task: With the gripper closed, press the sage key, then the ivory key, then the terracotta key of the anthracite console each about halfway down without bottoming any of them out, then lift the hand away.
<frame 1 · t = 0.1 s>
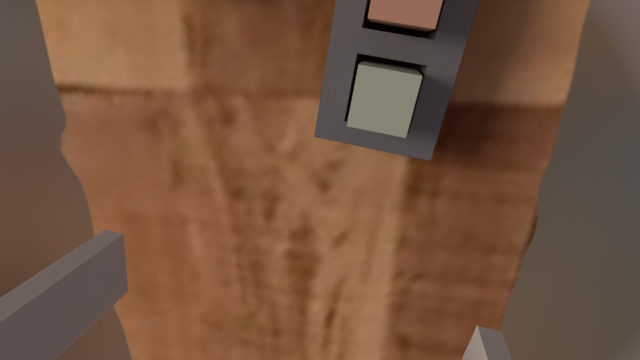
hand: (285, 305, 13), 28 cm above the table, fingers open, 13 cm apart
key sage: (383, 95, 30), point 6 cm above the table, slide at 0.0 cm
console: (404, 1, 32), on the table
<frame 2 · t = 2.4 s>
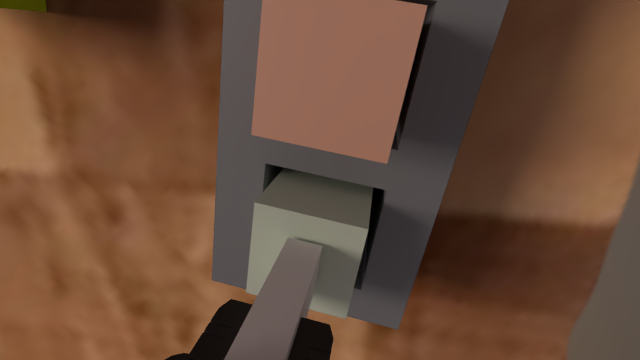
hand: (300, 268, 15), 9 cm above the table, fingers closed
key sage: (318, 222, 18), point 5 cm above the table, slide at -1.1 cm, touching gripper
console: (356, 61, 20), on the table
key terracotta: (343, 69, 14), point 6 cm above the table, slide at 0.0 cm
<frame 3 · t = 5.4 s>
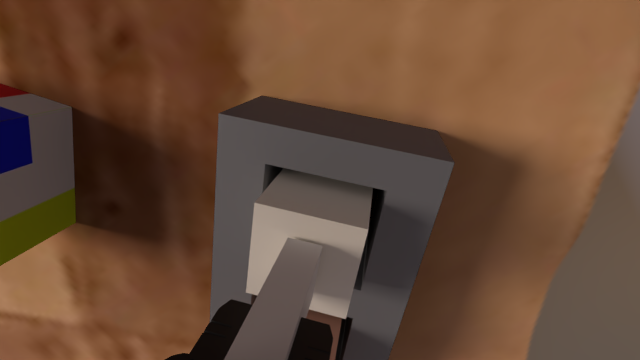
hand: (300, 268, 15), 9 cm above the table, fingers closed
key ivory: (318, 222, 18), point 5 cm above the table, slide at -1.1 cm, touching gripper
console: (314, 280, 26), on the table
key terracotta: (294, 345, 20), point 6 cm above the table, slide at 0.0 cm
puzzle toy: (20, 148, 27), on the table
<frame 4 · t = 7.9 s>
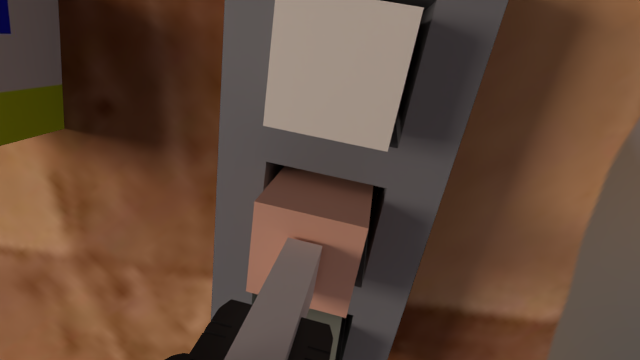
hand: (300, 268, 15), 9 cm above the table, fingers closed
key sage: (299, 328, 22), point 5 cm above the table, slide at -1.1 cm
key ivory: (347, 65, 15), point 5 cm above the table, slide at -1.1 cm
console: (333, 183, 23), on the table
key terracotta: (318, 221, 18), point 5 cm above the table, slide at -1.0 cm
puzzle toy: (0, 40, 24), on the table
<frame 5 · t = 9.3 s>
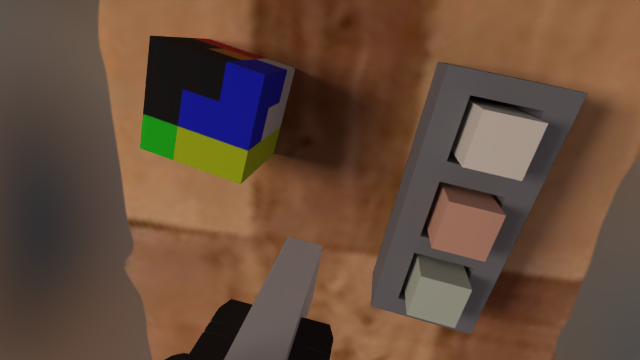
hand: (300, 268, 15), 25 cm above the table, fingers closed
key sage: (433, 278, 36), point 5 cm above the table, slide at -1.1 cm
key ivory: (490, 135, 30), point 5 cm above the table, slide at -1.1 cm
console: (450, 193, 38), on the table
key terracotta: (459, 213, 33), point 5 cm above the table, slide at -1.1 cm
puzzle toy: (243, 98, 39), on the table
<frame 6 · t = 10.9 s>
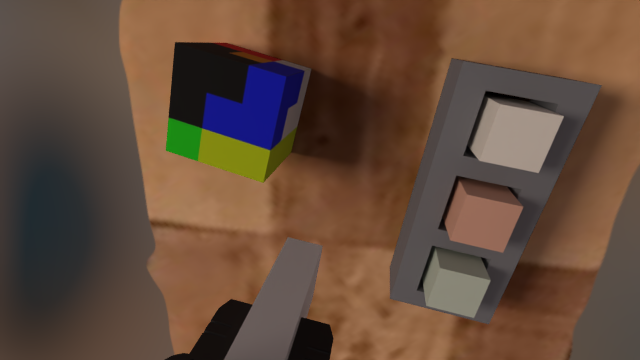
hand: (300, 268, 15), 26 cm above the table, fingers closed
key sage: (451, 270, 37), point 5 cm above the table, slide at -1.1 cm
key ivory: (505, 128, 31), point 5 cm above the table, slide at -1.1 cm
console: (465, 186, 39), on the table
key terracotta: (475, 206, 34), point 5 cm above the table, slide at -1.1 cm
puzzle toy: (260, 99, 40), on the table
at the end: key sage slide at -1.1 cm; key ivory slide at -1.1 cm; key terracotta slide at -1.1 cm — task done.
